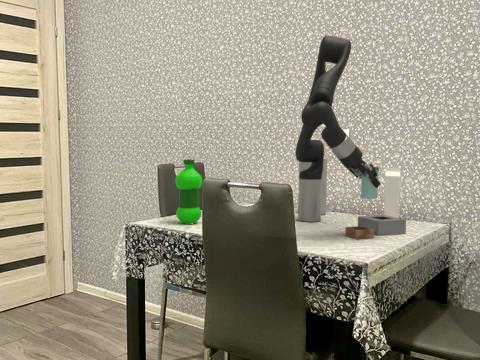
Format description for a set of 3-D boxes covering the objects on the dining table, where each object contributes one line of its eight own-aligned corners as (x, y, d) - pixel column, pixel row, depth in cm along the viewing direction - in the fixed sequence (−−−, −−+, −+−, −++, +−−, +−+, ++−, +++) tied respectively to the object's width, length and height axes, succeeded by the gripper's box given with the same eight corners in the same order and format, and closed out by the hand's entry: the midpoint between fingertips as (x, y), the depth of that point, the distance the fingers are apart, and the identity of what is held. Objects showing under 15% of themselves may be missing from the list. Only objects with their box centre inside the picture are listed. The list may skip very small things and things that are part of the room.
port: (378, 235, 165) (378, 221, 165) (357, 229, 177) (358, 216, 176) (405, 233, 170) (406, 219, 169) (384, 227, 181) (384, 214, 181)
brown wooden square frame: (356, 239, 158) (356, 230, 158) (345, 235, 165) (345, 227, 164) (373, 238, 161) (373, 229, 161) (361, 234, 167) (361, 226, 167)
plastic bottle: (179, 225, 180) (179, 160, 178) (173, 221, 190) (173, 159, 188) (204, 224, 184) (205, 160, 182) (197, 220, 194) (198, 159, 192)
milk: (384, 218, 203) (385, 167, 202) (398, 219, 202) (400, 167, 200) (383, 220, 198) (385, 168, 196) (399, 221, 196) (400, 168, 194)
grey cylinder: (297, 211, 223) (298, 158, 221) (324, 211, 222) (326, 158, 220) (298, 215, 211) (299, 158, 209) (326, 215, 210) (328, 159, 208)
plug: (367, 199, 164) (368, 167, 163) (360, 197, 168) (361, 166, 167) (377, 198, 165) (378, 167, 164) (370, 197, 169) (371, 166, 168)
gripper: (365, 143, 155) (394, 179, 161) (341, 142, 169) (368, 175, 174) (350, 159, 154) (380, 195, 160) (327, 157, 167) (355, 190, 173)
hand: (374, 185), depth 167 cm, fingers closed on plug, 4 cm apart
